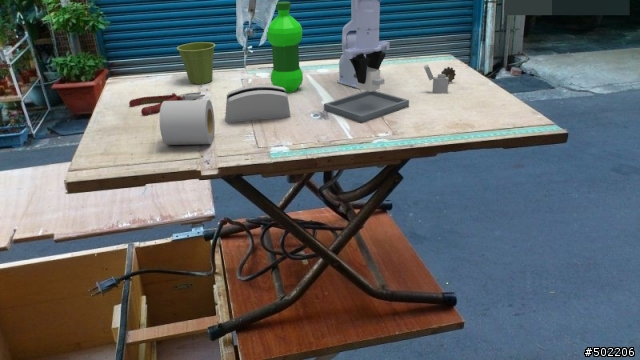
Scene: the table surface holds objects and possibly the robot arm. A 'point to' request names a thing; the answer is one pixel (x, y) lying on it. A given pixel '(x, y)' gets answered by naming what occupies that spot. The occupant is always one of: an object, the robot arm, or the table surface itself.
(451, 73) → the gear
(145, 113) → the pliers
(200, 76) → the plant pot
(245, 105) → the grey napkin holder
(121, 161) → the table surface
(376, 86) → the plug
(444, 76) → the lighter
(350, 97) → the tray
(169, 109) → the toilet paper
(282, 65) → the plastic bottle
